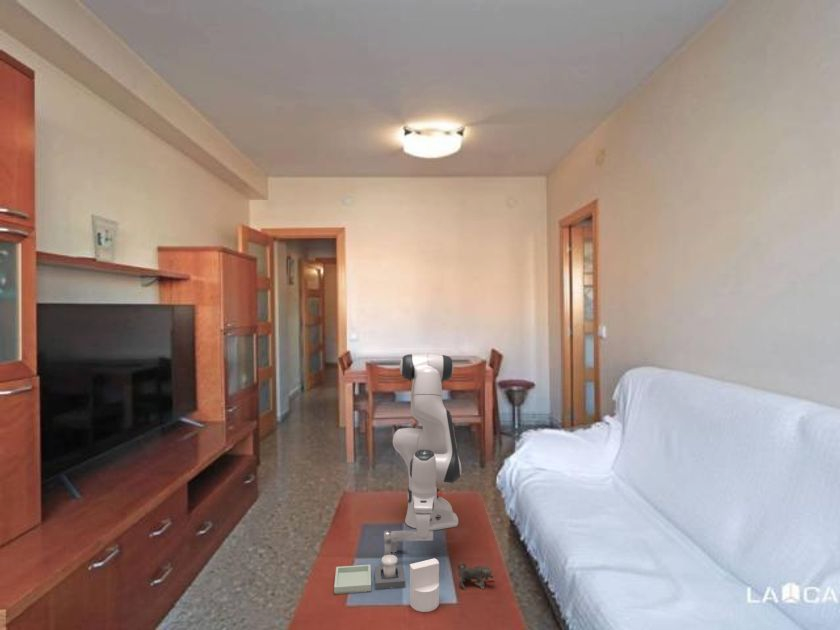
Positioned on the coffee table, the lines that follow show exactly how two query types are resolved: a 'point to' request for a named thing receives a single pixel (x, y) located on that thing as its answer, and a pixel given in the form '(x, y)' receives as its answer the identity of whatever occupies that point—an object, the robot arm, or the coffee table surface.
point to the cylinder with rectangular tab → (424, 585)
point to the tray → (352, 579)
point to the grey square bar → (405, 536)
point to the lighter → (394, 546)
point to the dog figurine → (474, 574)
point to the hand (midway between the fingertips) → (424, 537)
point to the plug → (389, 566)
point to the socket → (390, 582)
